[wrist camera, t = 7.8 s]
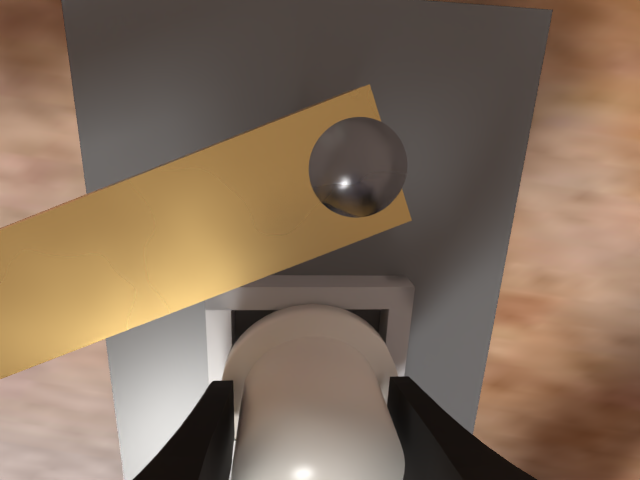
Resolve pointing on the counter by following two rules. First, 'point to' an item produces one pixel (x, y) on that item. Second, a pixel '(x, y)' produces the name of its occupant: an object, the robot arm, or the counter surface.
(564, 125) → the counter surface
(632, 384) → the counter surface
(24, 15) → the counter surface
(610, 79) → the counter surface
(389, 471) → the plug
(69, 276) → the tan l-shaped bar
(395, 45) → the socket block
